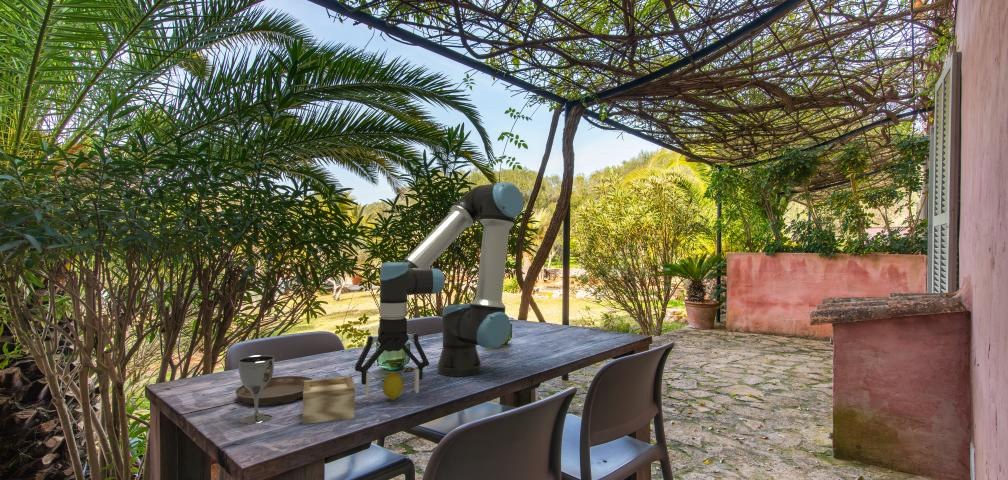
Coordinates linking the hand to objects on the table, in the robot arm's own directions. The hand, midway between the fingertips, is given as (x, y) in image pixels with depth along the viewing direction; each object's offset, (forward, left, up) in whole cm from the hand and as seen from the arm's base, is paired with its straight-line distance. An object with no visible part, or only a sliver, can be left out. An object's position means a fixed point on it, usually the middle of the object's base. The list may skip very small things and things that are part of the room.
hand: (392, 393), depth 137 cm
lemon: (0, 0, -2) cm, 2 cm away
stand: (+17, +5, -2) cm, 18 cm away
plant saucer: (+31, -16, -2) cm, 35 cm away
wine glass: (+34, +3, -2) cm, 34 cm away
